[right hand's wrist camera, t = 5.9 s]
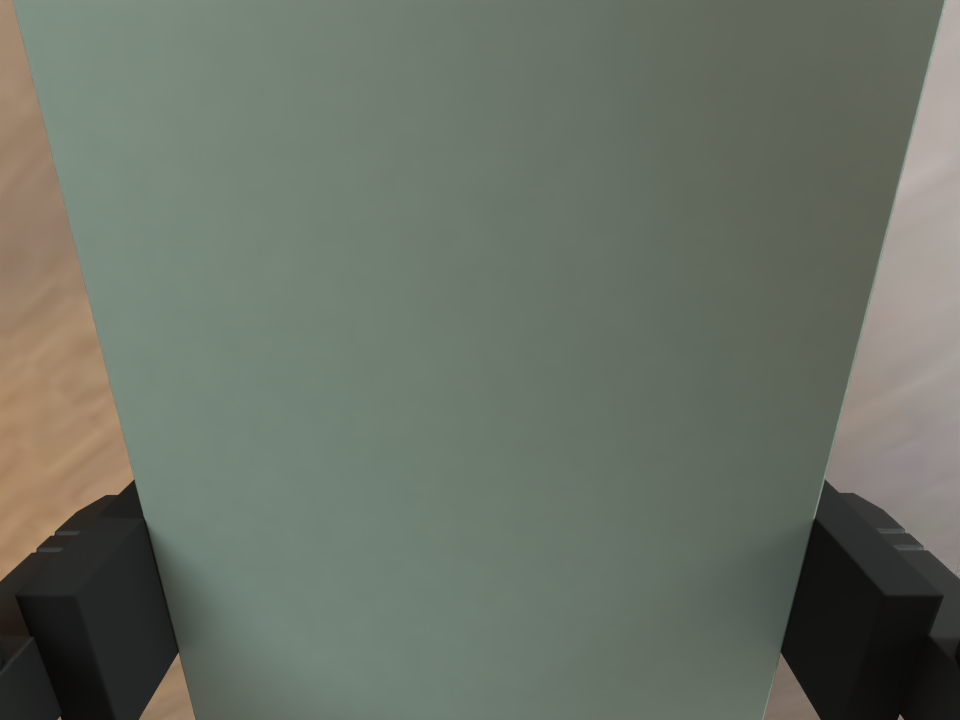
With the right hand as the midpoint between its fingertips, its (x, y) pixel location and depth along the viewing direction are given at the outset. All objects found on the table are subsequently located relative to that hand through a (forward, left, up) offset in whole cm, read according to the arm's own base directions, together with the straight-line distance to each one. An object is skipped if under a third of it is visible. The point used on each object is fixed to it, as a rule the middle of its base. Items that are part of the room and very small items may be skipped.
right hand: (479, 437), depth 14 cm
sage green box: (+2, +3, -5) cm, 6 cm away
